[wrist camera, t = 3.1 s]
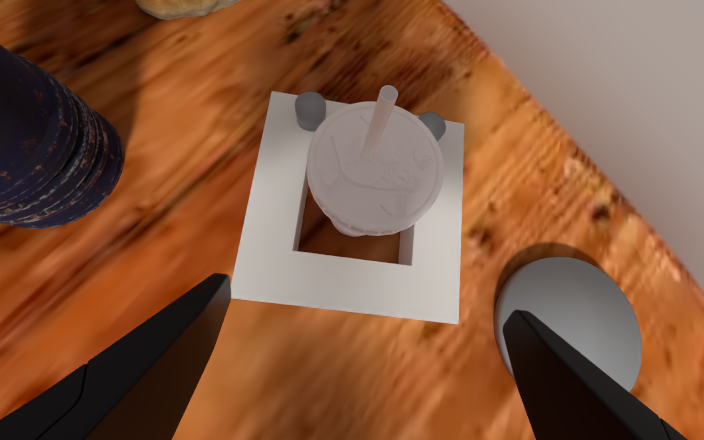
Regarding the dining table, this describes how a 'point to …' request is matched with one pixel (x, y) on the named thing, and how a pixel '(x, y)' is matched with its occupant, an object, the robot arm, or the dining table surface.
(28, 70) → the storage jar
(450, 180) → the holder
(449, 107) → the dining table surface
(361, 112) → the smoothie
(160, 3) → the pastry
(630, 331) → the coaster
